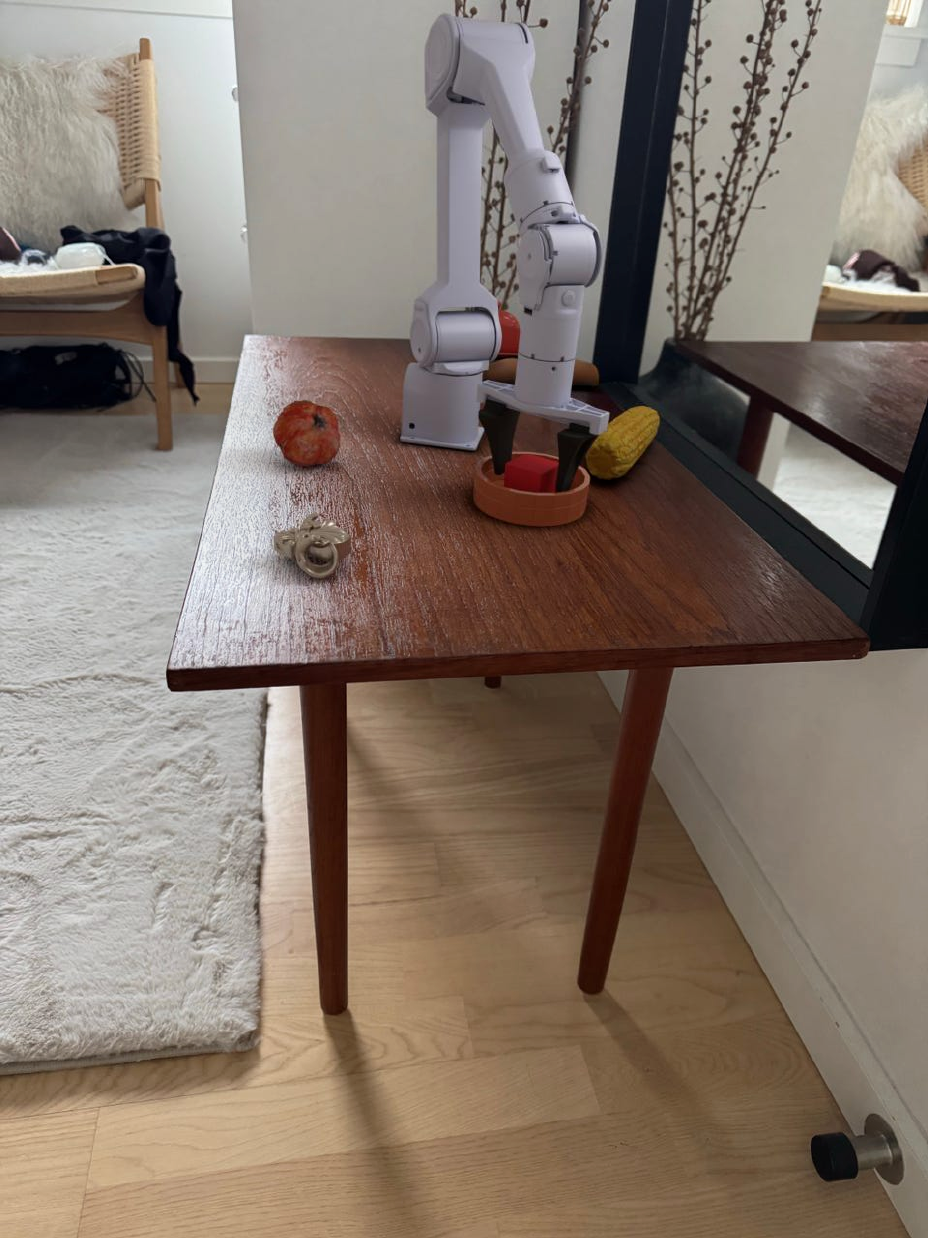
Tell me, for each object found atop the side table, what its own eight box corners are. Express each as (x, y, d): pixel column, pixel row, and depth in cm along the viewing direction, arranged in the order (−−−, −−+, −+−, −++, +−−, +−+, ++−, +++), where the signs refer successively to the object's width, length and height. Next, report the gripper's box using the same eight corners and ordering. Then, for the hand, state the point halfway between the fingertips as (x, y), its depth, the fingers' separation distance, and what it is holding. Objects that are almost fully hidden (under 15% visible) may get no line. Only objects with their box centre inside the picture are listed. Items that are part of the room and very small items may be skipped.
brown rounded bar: (579, 372, 141) (592, 341, 135) (589, 407, 138) (603, 376, 132) (469, 372, 136) (478, 340, 130) (477, 408, 133) (487, 376, 127)
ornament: (278, 540, 84) (277, 504, 82) (351, 542, 85) (351, 507, 83) (269, 580, 77) (267, 543, 76) (348, 583, 78) (348, 545, 76)
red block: (501, 498, 96) (505, 463, 93) (522, 486, 99) (526, 452, 97) (536, 510, 94) (541, 474, 92) (557, 497, 97) (561, 463, 95)
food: (623, 492, 101) (632, 442, 98) (576, 481, 103) (583, 432, 99) (662, 438, 118) (671, 394, 115) (621, 430, 119) (628, 386, 116)
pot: (464, 517, 92) (467, 485, 90) (482, 474, 102) (484, 445, 100) (582, 533, 91) (587, 501, 89) (587, 488, 101) (592, 459, 99)
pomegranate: (266, 477, 103) (284, 451, 94) (263, 416, 103) (280, 384, 94) (329, 479, 106) (352, 454, 97) (325, 419, 106) (348, 389, 97)
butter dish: (463, 361, 144) (467, 306, 139) (450, 342, 153) (453, 291, 149) (531, 362, 146) (537, 308, 142) (514, 344, 156) (519, 293, 151)
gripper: (630, 362, 88) (608, 489, 95) (506, 333, 94) (494, 454, 101) (598, 375, 83) (577, 509, 90) (469, 344, 89) (460, 471, 96)
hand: (531, 481), depth 95 cm, fingers open, 7 cm apart
